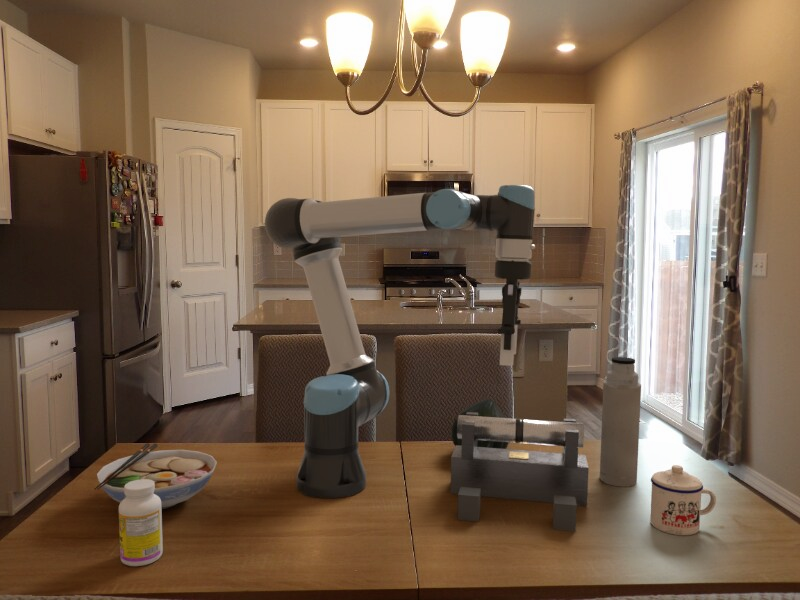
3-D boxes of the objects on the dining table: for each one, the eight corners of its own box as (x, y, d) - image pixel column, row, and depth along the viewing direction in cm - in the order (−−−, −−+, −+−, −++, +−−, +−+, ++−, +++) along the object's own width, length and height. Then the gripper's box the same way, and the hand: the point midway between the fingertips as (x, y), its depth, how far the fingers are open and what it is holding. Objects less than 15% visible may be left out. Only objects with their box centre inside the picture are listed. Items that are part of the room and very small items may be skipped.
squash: (433, 436, 158) (473, 396, 154) (452, 423, 172) (489, 385, 167) (473, 481, 155) (516, 440, 150) (489, 464, 168) (529, 426, 164)
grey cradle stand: (449, 495, 136) (451, 423, 134) (455, 478, 145) (456, 411, 144) (587, 507, 130) (590, 433, 129) (583, 489, 140) (586, 419, 138)
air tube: (457, 442, 137) (457, 419, 136) (459, 433, 142) (460, 411, 141) (583, 451, 132) (584, 428, 131) (581, 442, 137) (582, 419, 136)
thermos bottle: (596, 473, 150) (601, 354, 147) (631, 474, 149) (637, 355, 146) (603, 485, 142) (608, 360, 139) (640, 487, 141) (646, 361, 139)
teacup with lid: (659, 536, 118) (662, 474, 117) (641, 515, 127) (644, 458, 126) (725, 537, 118) (729, 475, 117) (702, 516, 127) (705, 458, 126)
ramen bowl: (191, 532, 117) (190, 489, 116) (69, 528, 118) (68, 485, 118) (233, 481, 142) (233, 445, 141) (133, 478, 143) (132, 442, 143)
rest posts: (457, 519, 124) (458, 494, 123) (460, 511, 128) (460, 486, 127) (575, 531, 119) (576, 505, 119) (574, 522, 123) (575, 497, 123)
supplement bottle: (128, 549, 111) (125, 476, 110) (167, 548, 111) (165, 476, 110) (114, 568, 104) (111, 492, 103) (156, 567, 105) (154, 491, 104)
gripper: (530, 262, 122) (524, 372, 124) (532, 258, 147) (527, 350, 149) (490, 261, 124) (485, 369, 126) (499, 257, 148) (494, 348, 150)
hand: (508, 359), depth 137 cm, fingers open, 13 cm apart
